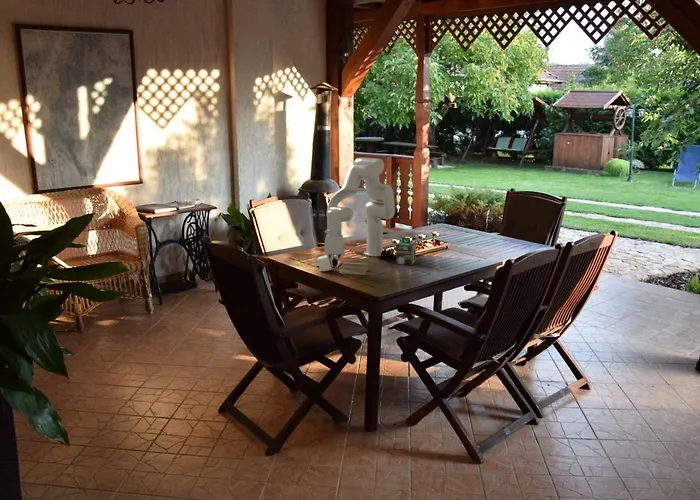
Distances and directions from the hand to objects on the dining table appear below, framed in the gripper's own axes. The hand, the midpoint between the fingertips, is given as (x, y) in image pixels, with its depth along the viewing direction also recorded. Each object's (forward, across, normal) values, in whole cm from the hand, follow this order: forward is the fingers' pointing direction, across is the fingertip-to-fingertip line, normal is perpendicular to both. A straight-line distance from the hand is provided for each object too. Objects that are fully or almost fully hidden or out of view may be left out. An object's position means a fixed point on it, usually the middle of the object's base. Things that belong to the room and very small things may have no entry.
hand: (335, 266), depth 349 cm
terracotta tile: (+3, -6, +12) cm, 13 cm away
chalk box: (+4, +36, +23) cm, 43 cm away
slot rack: (+3, +10, -1) cm, 11 cm away
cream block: (+2, -4, -1) cm, 5 cm away
